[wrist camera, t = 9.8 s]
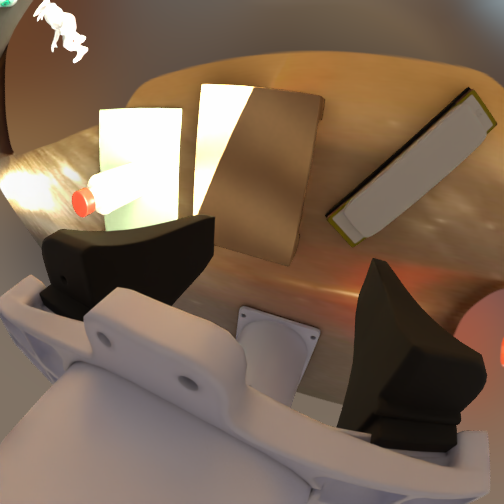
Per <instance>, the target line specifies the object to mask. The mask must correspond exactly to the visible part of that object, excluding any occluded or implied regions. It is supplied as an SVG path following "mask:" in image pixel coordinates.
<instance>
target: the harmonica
mask: <svg viewBox="0 0 504 504" xmlns="http://www.w3.org/2000/svg"><path fill="white" fill-rule="evenodd" d="M496 125H497V122H496V121H495V119H494V118H493V116H492V115H491V113H490V112H489V110H488V109H487V107H486V106H485V104H484V103H483V101H482V100H481V99H480V97H479V96H478V94H477V93H476V92H475V90H474V89H470V88H469V87H468V88H466V89H465V90H464V91H463V92H462V93H461V94H460V95H458V96H457V97H456V98H455V99H454V100H453V101H452V102H451V103H450V104H449V105H448V106H447V107H445V108H444V109H443V110H442V111H441V112H440V113H439V114H438V115H437V116H436V117H435V118H433V119H432V120H431V121H430V122H429V123H428V124H427V125H426V126H425V127H424V128H423V129H421V130H420V131H419V132H418V133H417V134H416V135H415V136H414V137H413V138H411V139H410V140H409V141H408V142H407V143H406V144H405V145H404V146H403V147H401V148H400V149H399V150H398V151H397V152H396V153H395V154H394V155H392V156H391V157H390V158H389V159H388V160H387V161H386V162H385V163H383V164H382V165H381V166H380V167H379V168H378V169H377V170H376V171H374V172H373V173H372V174H371V175H370V176H369V177H368V178H366V179H365V180H364V181H363V182H362V183H361V184H360V185H358V186H357V187H356V188H355V189H354V190H353V191H352V192H350V193H349V194H348V195H347V196H346V197H345V198H343V199H342V200H341V201H340V202H339V203H338V204H337V205H335V206H334V207H333V208H332V209H331V210H330V211H329V212H328V213H326V215H325V216H326V217H327V221H328V222H329V223H330V224H331V225H332V226H333V227H334V228H335V229H336V231H337V232H338V233H339V234H340V235H341V236H342V237H343V238H344V239H345V240H346V242H347V243H348V244H349V245H350V246H351V247H352V248H353V247H355V246H356V245H358V244H359V243H360V242H362V241H363V240H364V239H366V238H367V237H370V236H372V235H374V234H376V233H377V232H379V231H380V230H381V229H383V228H384V227H385V226H387V225H388V224H389V223H390V222H392V221H393V220H394V219H395V218H397V217H398V216H399V215H400V214H402V213H403V212H404V211H405V210H407V209H408V208H409V207H410V206H411V205H413V204H414V203H415V202H416V201H417V200H419V199H420V198H421V197H422V196H423V195H425V194H426V193H427V192H428V191H429V190H430V189H432V188H433V187H434V186H435V185H436V184H437V183H439V182H440V181H441V180H442V179H443V178H444V177H445V176H447V175H448V174H449V173H450V172H451V171H452V170H453V169H454V168H456V167H457V166H458V165H459V164H460V163H461V162H462V161H463V160H464V159H466V158H467V157H468V156H469V155H470V154H471V153H472V152H473V151H474V150H475V149H476V148H477V147H478V146H479V145H480V144H481V143H482V142H483V141H484V139H485V138H486V135H487V134H488V133H489V132H490V131H491V130H492V129H493V128H494V127H495V126H496Z"/></svg>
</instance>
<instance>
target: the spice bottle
mask: <svg viewBox="0 0 504 504" xmlns="http://www.w3.org/2000/svg"><path fill="white" fill-rule="evenodd" d="M146 189H147V178H146V175H145V173H144V171H143V169H142V168H141V167H140V166H139V165H138V164H136V163H132V162H130V163H127V164H124V165H121V166H118V167H115V168H112V169H109V170H106V171H104V172H101V173H98V174H95V175H93V176H92V177H91V178H90V180H89V183H88V188H83V189H80V190H78V191H76V192H74V194H73V196H72V204H73V208H74V210H75V212H76V213H77V214H78V215H79V216H80V217H86V216H87V215H89V214H91V213H93V212H94V211H95V210H96V211H97V212H99V213H100V214H104V215H106V214H109V213H111V212H113V211H115V210H117V209H119V208H121V207H123V206H124V205H126V204H128V203H130V202H132V201H134V200H136V199H138V198H140V197H142V196H143V195H144V194H145V192H146Z"/></svg>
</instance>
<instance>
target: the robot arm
mask: <svg viewBox="0 0 504 504" xmlns="http://www.w3.org/2000/svg"><path fill="white" fill-rule="evenodd" d="M214 232H215V217H214V216H210V215H205V214H199V215H193V216H189V217H184V218H180V219H176V220H172V221H168V222H164V223H160V224H155V225H151V226H146V227H141V228H134V229H127V230H114V231H78V230H67V229H61V230H58V231H57V232H55V233H53V234H51V235H50V236H48V237H46V238H45V239H44V241H43V244H42V255H43V260H44V263H45V267H46V270H47V273H48V276H49V279H50V283H51V285H49V286H48V287H47V288H46V287H45V285H44V284H43V283H42V282H41V281H40V280H38V279H37V278H35V277H34V276H33V275H29V276H28V277H26V278H25V279H23V280H22V281H21V282H19V283H18V284H17V285H15V286H14V287H13V288H11V289H10V290H8V291H7V292H6V293H5V294H3V295H2V296H1V297H0V318H1V320H2V321H3V323H4V325H5V327H6V329H7V331H8V332H9V335H10V336H11V338H12V340H13V342H14V343H15V344H16V346H17V347H18V348H19V349H20V350H21V351H22V352H23V353H24V354H25V356H27V358H28V359H29V360H30V361H31V362H32V363H33V364H34V365H35V366H36V367H37V369H38V370H39V371H40V372H41V373H42V374H43V375H44V376H45V377H46V378H47V379H48V380H49V381H50V382H51V383H52V384H53V385H52V386H51V387H50V388H49V390H48V391H47V392H46V393H45V394H44V395H43V396H42V397H41V398H40V399H39V400H38V402H36V404H35V405H34V406H33V407H32V408H31V409H30V410H29V411H28V412H27V413H26V414H25V416H24V417H23V418H22V419H21V420H20V421H19V422H18V423H17V425H16V426H15V427H14V428H13V429H12V430H11V431H10V433H9V434H8V435H7V436H6V437H5V438H4V440H3V441H2V442H1V443H0V504H468V503H470V502H473V501H475V500H477V499H479V498H481V497H483V496H485V495H487V494H488V493H489V492H490V456H489V442H488V432H487V431H470V430H467V431H462V432H459V433H457V428H456V425H458V424H459V423H460V422H461V414H460V412H461V411H463V410H464V408H466V407H467V406H468V405H469V404H470V403H471V402H472V401H473V400H474V399H475V398H476V397H477V395H478V394H479V393H480V392H481V390H482V389H483V387H484V385H485V383H486V378H487V373H486V369H485V365H484V362H483V358H482V355H481V354H480V353H478V352H476V351H475V350H473V349H471V348H470V347H468V346H466V345H465V344H463V343H462V342H460V341H459V340H458V339H456V338H455V337H453V336H452V335H451V334H449V333H448V332H447V331H446V330H444V329H443V328H442V327H441V326H440V325H439V324H438V323H436V322H435V321H434V320H433V319H432V318H431V317H430V316H429V315H428V314H427V313H426V312H425V311H424V310H423V309H422V308H421V307H420V306H419V304H418V303H417V302H416V301H415V300H414V298H413V297H412V296H411V295H410V293H409V292H408V291H407V290H406V288H405V287H404V286H403V284H402V283H401V281H400V280H399V279H398V277H397V276H396V274H395V273H394V271H393V270H392V269H391V267H390V266H389V265H388V263H387V262H386V261H382V260H379V259H375V258H373V259H372V261H371V264H370V267H369V270H368V273H367V275H366V278H365V281H364V283H363V286H362V289H361V291H360V294H359V297H358V303H357V309H356V317H355V340H354V356H353V364H352V370H351V374H350V379H349V384H348V388H347V392H346V396H345V400H344V404H343V407H342V411H341V414H340V418H339V421H338V424H337V427H333V426H328V425H325V424H323V423H321V422H319V421H316V420H314V419H312V418H310V417H308V416H306V415H304V414H302V413H300V412H298V411H295V410H293V409H291V405H292V402H293V399H294V396H295V393H296V390H297V387H298V385H299V383H300V381H301V378H302V376H303V374H304V372H305V369H306V367H307V365H308V362H309V360H310V358H311V355H312V353H313V350H314V348H315V346H316V343H317V341H318V338H319V336H320V330H319V329H317V328H314V327H311V326H308V325H304V324H301V323H298V322H294V321H291V320H288V319H284V318H281V317H278V316H275V315H272V314H269V313H265V312H262V311H259V310H256V309H253V308H250V307H247V306H242V307H241V308H240V309H239V316H238V325H237V333H236V339H235V338H234V337H233V336H232V335H231V334H230V333H229V332H228V331H226V330H225V329H223V328H221V327H219V326H218V325H216V324H214V323H212V322H211V321H208V320H205V319H203V318H200V317H197V316H195V315H192V314H190V313H187V312H184V311H182V310H179V309H177V308H174V307H172V305H173V304H174V303H175V301H176V300H177V299H178V298H179V297H180V296H181V295H182V293H183V292H184V291H185V290H186V289H187V288H188V287H189V286H190V285H191V284H192V283H193V282H194V280H195V279H196V278H197V277H198V276H199V275H200V274H201V273H202V272H203V270H204V269H205V268H206V266H207V265H208V263H209V262H210V260H211V258H212V257H213V255H214ZM243 314H245V315H243ZM312 336H315V337H312Z"/></svg>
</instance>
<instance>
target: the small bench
mask: <svg viewBox="0 0 504 504" xmlns="http://www.w3.org/2000/svg"><path fill="white" fill-rule="evenodd" d="M324 103H325V99H324V98H323V97H321V96H318V95H312V94H307V93H300V92H294V91H287V90H280V89H271V88H262V87H252V86H239V85H222V84H202V86H201V96H200V106H199V118H198V130H197V144H196V160H195V179H194V204H193V215H199V214H205V215H210V216H214V217H215V232H214V245H216V246H219V247H223V248H226V249H230V250H233V251H237V252H240V253H243V254H247V255H250V256H254V257H257V258H261V259H264V260H268V261H271V262H275V263H278V264H281V265H285V266H288V267H289V266H290V264H291V262H292V260H293V258H294V256H295V254H296V251H297V247H298V242H299V238H300V234H298V230H299V225H300V220H301V215H302V210H303V205H304V200H305V195H306V190H307V185H308V180H309V174H310V169H311V163H312V158H313V152H314V146H315V141H316V135H317V129H318V123H319V120H322V116H323V110H324Z"/></svg>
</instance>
